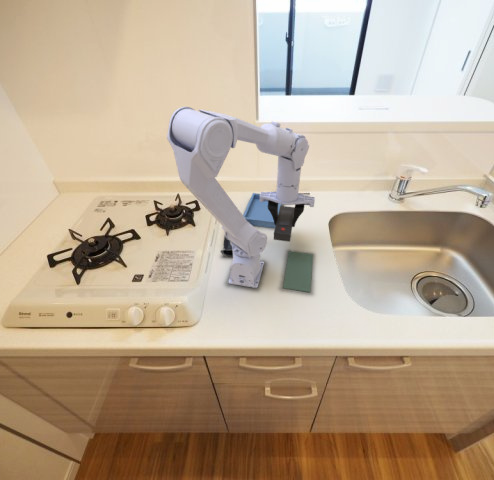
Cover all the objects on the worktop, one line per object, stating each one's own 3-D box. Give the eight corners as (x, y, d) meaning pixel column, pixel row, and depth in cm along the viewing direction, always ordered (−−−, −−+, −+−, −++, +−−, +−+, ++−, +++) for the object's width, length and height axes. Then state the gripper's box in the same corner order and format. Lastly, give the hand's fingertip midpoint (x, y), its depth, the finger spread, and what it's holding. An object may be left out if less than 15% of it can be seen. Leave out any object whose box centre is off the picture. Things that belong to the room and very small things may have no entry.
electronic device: (253, 260, 77) (256, 224, 87) (250, 249, 73) (253, 212, 83) (223, 262, 79) (229, 226, 88) (218, 250, 75) (225, 214, 84)
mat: (309, 292, 67) (310, 291, 66) (282, 288, 68) (282, 287, 67) (312, 255, 77) (312, 254, 77) (289, 251, 78) (289, 250, 78)
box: (275, 228, 87) (276, 222, 85) (242, 224, 89) (241, 218, 87) (282, 201, 99) (282, 196, 97) (252, 198, 101) (252, 192, 99)
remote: (289, 241, 70) (290, 233, 68) (273, 239, 71) (273, 231, 69) (294, 214, 80) (295, 206, 78) (279, 212, 80) (280, 205, 79)
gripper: (317, 176, 68) (310, 218, 77) (262, 171, 70) (262, 213, 79) (316, 190, 62) (309, 233, 71) (257, 184, 65) (258, 227, 74)
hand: (284, 223), depth 75 cm, fingers closed on remote, 4 cm apart
